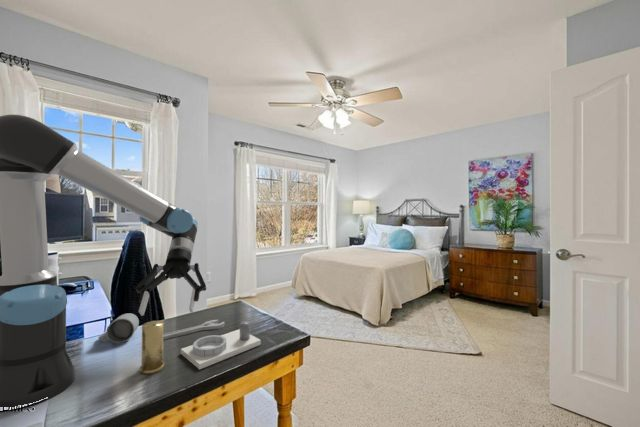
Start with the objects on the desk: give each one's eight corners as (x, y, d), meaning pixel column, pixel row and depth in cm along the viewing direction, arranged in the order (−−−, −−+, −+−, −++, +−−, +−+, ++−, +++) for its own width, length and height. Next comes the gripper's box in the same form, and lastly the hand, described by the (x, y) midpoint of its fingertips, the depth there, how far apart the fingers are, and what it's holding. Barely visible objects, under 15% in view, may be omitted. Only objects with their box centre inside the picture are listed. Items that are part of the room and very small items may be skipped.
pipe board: (199, 369, 77) (199, 345, 77) (180, 353, 85) (181, 332, 85) (260, 344, 92) (261, 324, 92) (239, 333, 100) (240, 314, 100)
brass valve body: (135, 375, 74) (136, 329, 73) (144, 363, 79) (145, 320, 79) (160, 373, 75) (161, 327, 75) (167, 361, 81) (168, 319, 80)
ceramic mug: (140, 331, 100) (140, 309, 100) (134, 341, 92) (133, 317, 92) (103, 335, 96) (103, 313, 96) (94, 346, 89) (94, 322, 88)
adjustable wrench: (145, 346, 91) (145, 340, 91) (144, 338, 96) (144, 333, 96) (225, 328, 105) (225, 323, 105) (220, 322, 110) (220, 317, 110)
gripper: (218, 259, 105) (211, 315, 91) (143, 260, 100) (123, 320, 85) (217, 246, 100) (209, 304, 85) (137, 247, 94) (114, 308, 80)
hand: (166, 312), depth 85 cm, fingers open, 13 cm apart
